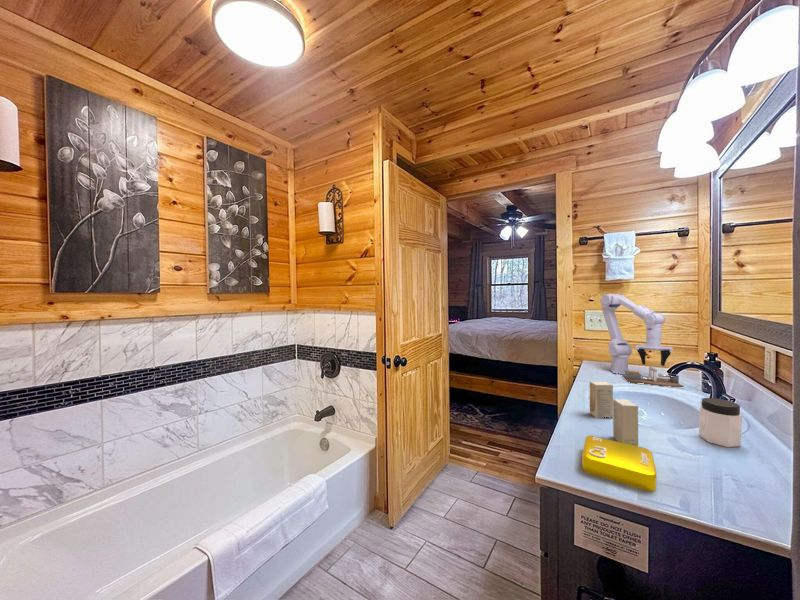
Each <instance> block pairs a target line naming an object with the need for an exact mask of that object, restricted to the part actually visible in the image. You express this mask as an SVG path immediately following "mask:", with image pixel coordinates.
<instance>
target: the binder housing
mask: <svg viewBox="0 0 800 600" xmlns="http://www.w3.org/2000/svg"><path fill="white" fill-rule="evenodd" d="M624 375H625V377H626V378H627V379H628V380H639V381H641V377H642V374H641V373H640V371H634V370H628V371H625V374H624Z"/></svg>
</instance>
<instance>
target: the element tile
mask: <svg viewBox="0 0 800 600" xmlns="http://www.w3.org/2000/svg"><path fill="white" fill-rule="evenodd" d="M581 458H582V460H581V469H582V470H583V471H584V472H585V473H587V474H589V473H590V475H592V474H593V475H592V476H595V475H596V477H598V476H599V478H603V479H605V478H606V480H609V481H612V480H613V482H616V483H619V484H622V483H623V485H625V486H630V487H632V488H633V487H634V488H637V489H639V490H643V491H648V492H655V491H656V490H657V477H658V476H657V469H656V463H655V460H654V455H653V452H652V451H651V450H650V449H648V448H647V447H641V446H639V445H638V446H634V445H630V444H625V443H621V442H618V441H617V440H611V439H607V438H603V437H599V436H594V435H587V436H586V437H585V439H584V444H583V449H582V456H581Z"/></svg>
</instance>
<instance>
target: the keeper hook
mask: <svg viewBox="0 0 800 600" xmlns="http://www.w3.org/2000/svg"><path fill="white" fill-rule="evenodd" d="M668 375H669V374H662V373H661V372H658V378H661V377H662V378H669V379H670V381H671V382H672V383H676V384H680V381H679V380H680V376H679V375H678V374H676V375H677V376H675V377H671V376H668Z"/></svg>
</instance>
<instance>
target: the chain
mask: <svg viewBox="0 0 800 600" xmlns="http://www.w3.org/2000/svg"><path fill="white" fill-rule="evenodd" d="M648 369H649V370H648V376H641V379H644V380H652V381H654V382H656V378H657V369H656V368H655V367H653V366H648Z"/></svg>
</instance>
